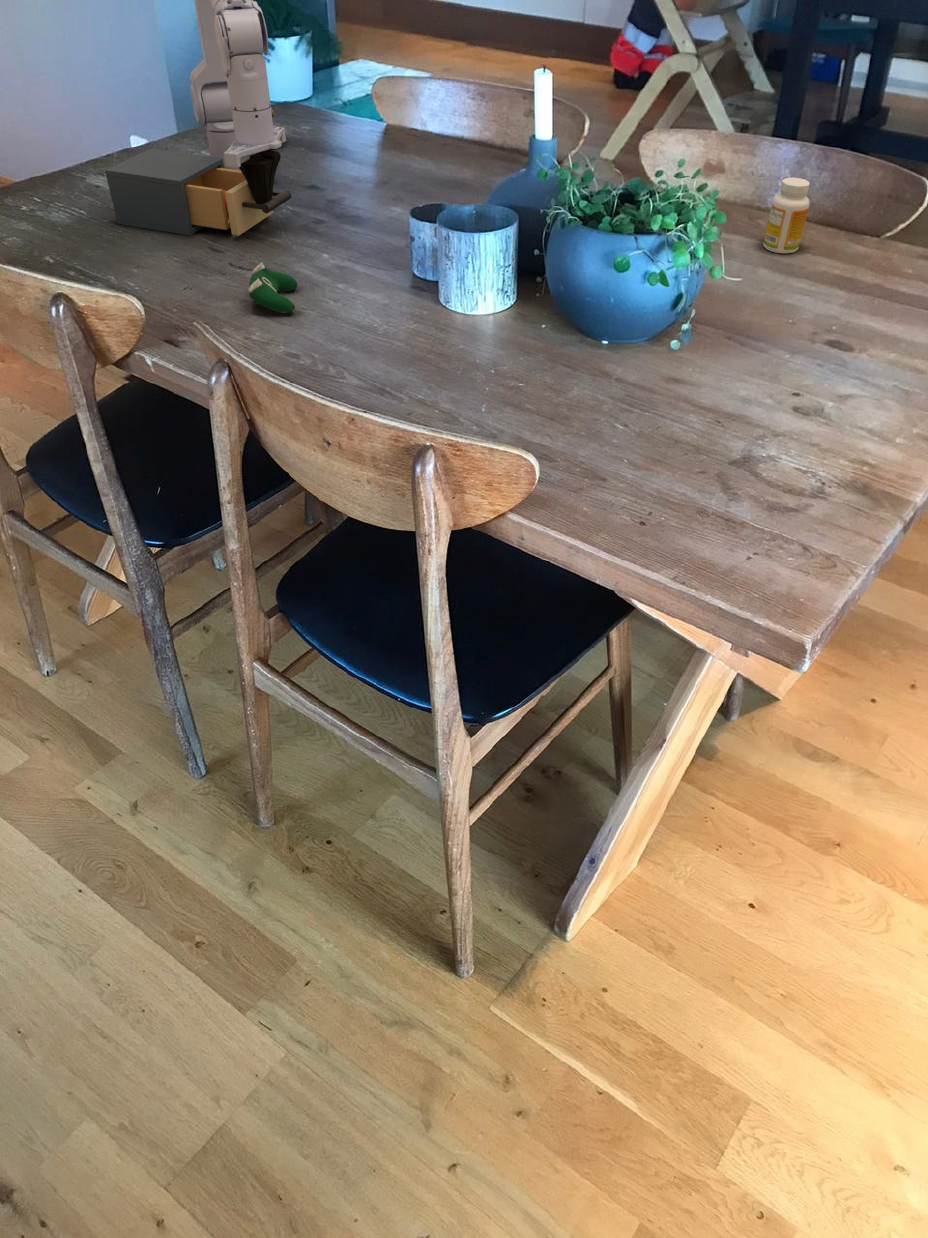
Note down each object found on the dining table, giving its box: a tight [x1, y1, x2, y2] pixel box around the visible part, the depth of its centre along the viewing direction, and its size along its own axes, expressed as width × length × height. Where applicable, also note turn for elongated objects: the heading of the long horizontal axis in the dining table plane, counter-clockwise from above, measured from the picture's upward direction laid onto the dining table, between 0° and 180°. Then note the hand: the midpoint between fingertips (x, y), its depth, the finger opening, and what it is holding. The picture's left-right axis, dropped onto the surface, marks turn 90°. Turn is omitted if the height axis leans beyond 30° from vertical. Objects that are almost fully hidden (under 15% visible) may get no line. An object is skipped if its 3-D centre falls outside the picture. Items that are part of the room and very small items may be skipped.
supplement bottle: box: [762, 177, 811, 254], centre depth 140 cm, size 5×5×10 cm
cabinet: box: [104, 148, 224, 236], centre depth 148 cm, size 14×12×8 cm
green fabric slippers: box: [247, 261, 298, 315], centre depth 126 cm, size 9×4×6 cm
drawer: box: [184, 167, 293, 237], centre depth 145 cm, size 17×11×6 cm, turn 69°
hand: (263, 203), depth 144 cm, fingers closed, pressing on drawer
